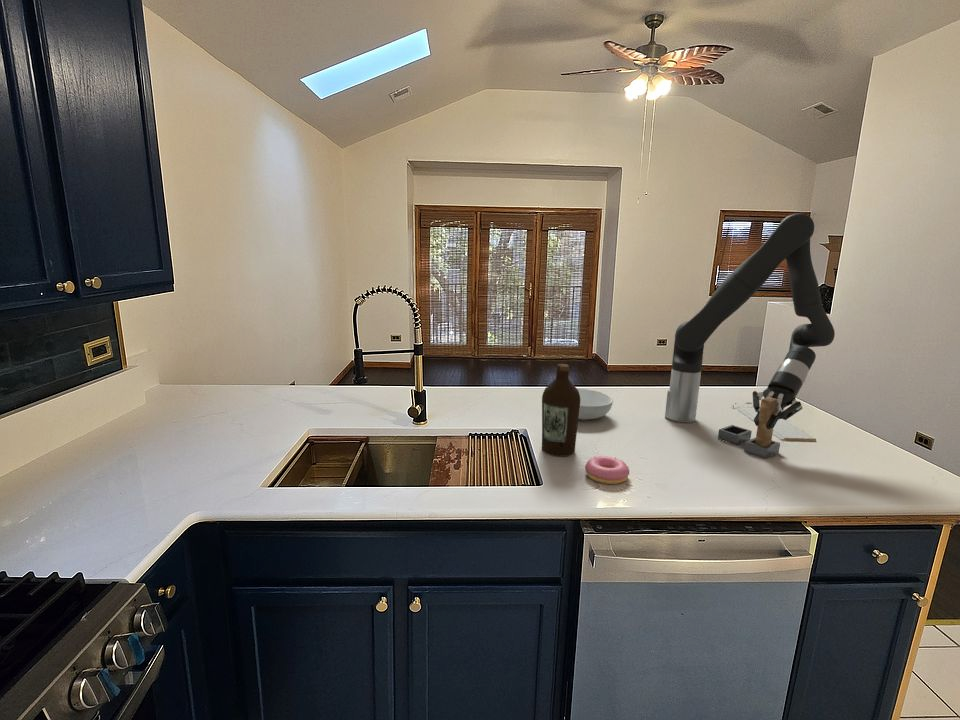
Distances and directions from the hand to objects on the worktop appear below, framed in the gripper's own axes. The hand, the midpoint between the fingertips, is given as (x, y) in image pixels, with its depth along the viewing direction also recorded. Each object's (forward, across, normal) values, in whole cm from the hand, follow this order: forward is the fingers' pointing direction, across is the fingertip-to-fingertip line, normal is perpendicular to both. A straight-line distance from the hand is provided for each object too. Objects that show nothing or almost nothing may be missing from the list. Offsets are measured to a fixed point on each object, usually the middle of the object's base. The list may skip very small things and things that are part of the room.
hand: (762, 426), depth 140 cm
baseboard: (-14, -11, +28) cm, 33 cm away
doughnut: (+40, -14, -28) cm, 51 cm away
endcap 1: (+2, -10, +9) cm, 14 cm away
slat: (+3, 0, +6) cm, 7 cm away
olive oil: (+39, -33, -27) cm, 58 cm away
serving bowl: (+19, -51, -7) cm, 55 cm away
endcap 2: (+5, 0, +7) cm, 9 cm away
